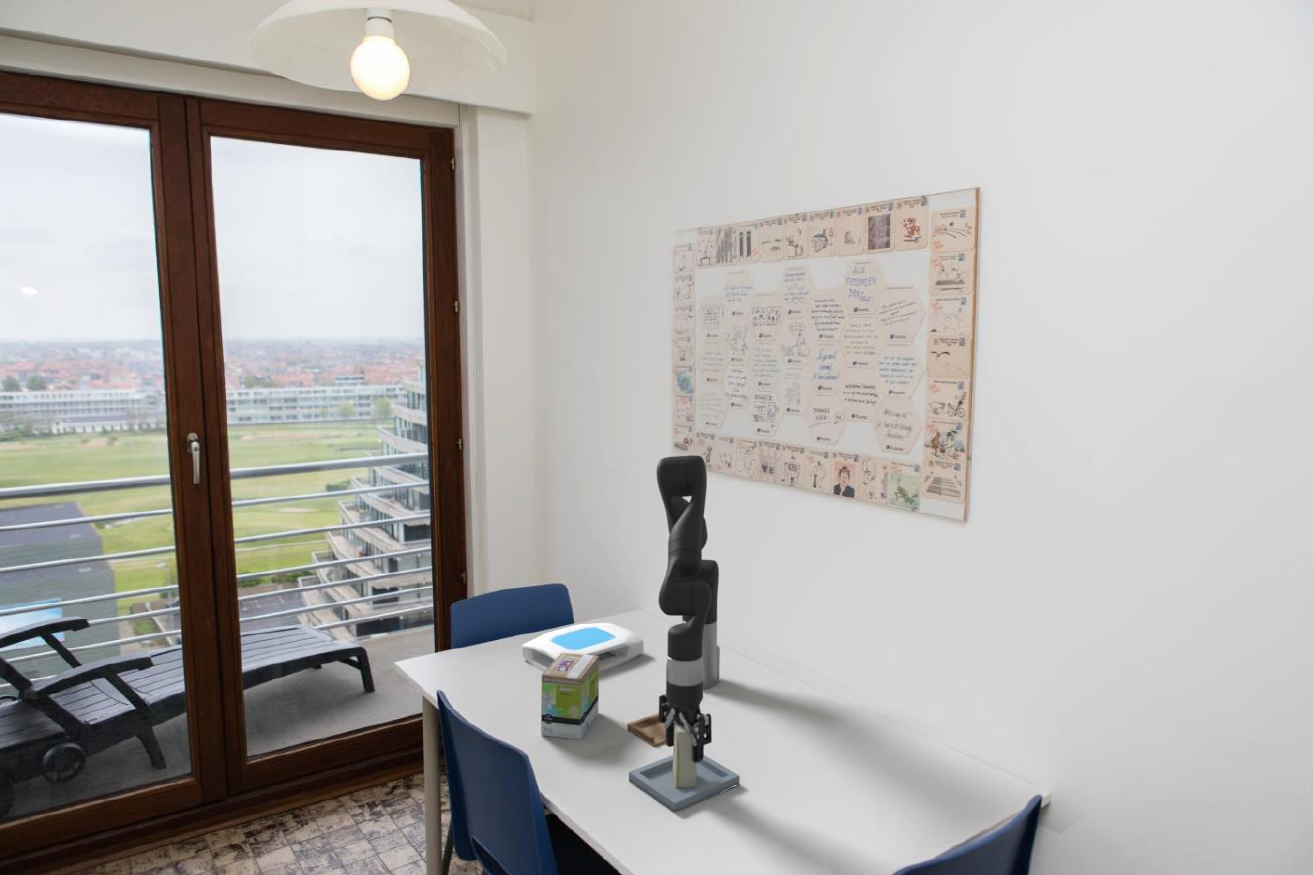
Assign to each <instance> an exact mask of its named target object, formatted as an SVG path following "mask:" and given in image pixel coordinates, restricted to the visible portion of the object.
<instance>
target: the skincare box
mask: <svg viewBox="0 0 1313 875" xmlns="http://www.w3.org/2000/svg"><path fill="white" fill-rule="evenodd" d="M695 728H697V725H696V724H695V725H694V726H692V727H691V729H695ZM695 735H696V738H698V731H697V732H695ZM692 745H693V742H692V740H691V737H690V735H688V734H687V732H686V730H685V728H684V727H683V726H681V725H679V724H677V723H676V721H675V720H674V746H673V752H672V753H673V754H672V755H673V777H674V782H675V787H676V788H685V787H696V772H697V763H695V762H693V761H692Z"/></svg>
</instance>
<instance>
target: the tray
mask: <svg viewBox="0 0 1313 875" xmlns="http://www.w3.org/2000/svg"><path fill="white" fill-rule="evenodd" d="M628 782H630V783H631V784H632V785H634V786H635V787H637V788H638V789H640V790H641V791H642V792H643V793H645V794H647V795H648V796H649V797H651V798H652V799H654V800H656V801H657V802H658V803H660V804H661V805H662V806H664V807H665V808H667V809H668V810H669V811H671V812H672V813H674V814H676V813H678V812H681V811H684V810H686V809H687V808H690V807H693V806H695V805H696V804H699V803H701V802H703V801H705V800H709V799H710V798H712V796H713V797H715V796H717V795H719V793H720V792H722V791H724V790H726V789H728V788H730V787H732V786H734V785H738V784H739V785H740V775H739V774H738V773H736V772H734V771H732V770H730V769H729V768H727V767H725V765H722V764H721V763H719V762H717V761H715V760H713V759H712V758H710V757H709V756H707V755H705V754H704V757H703V759H702V761H699V762H697V772H696V787H685V788H676V787H675V782H674V777H673V754H672V755H670V756H666V757H664V758H662V759H659V760H656V761H653V762H651V763H648V764H646V765H643V766H641V767H638V768H635V769H633V770H630V771H628ZM739 785H738V786H739ZM724 792H725V791H724ZM722 793H723V792H722ZM716 794H717V795H716ZM720 794H721V793H720ZM714 795H715V796H714Z"/></svg>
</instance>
